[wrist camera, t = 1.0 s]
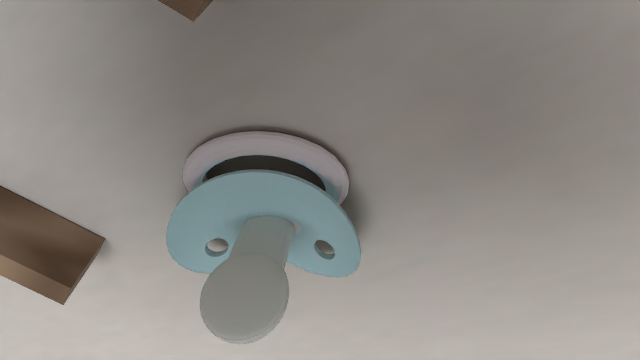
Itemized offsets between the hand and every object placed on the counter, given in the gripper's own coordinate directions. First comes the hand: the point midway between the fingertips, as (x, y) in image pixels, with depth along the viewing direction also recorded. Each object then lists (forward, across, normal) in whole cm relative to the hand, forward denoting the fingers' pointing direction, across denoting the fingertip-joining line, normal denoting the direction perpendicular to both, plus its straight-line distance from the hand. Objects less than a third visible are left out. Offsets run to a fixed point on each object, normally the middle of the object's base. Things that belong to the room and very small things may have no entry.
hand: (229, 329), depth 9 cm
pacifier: (+12, +2, +7) cm, 14 cm away
